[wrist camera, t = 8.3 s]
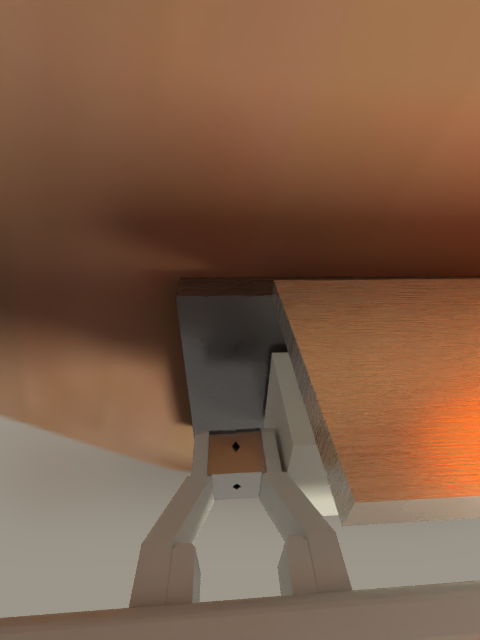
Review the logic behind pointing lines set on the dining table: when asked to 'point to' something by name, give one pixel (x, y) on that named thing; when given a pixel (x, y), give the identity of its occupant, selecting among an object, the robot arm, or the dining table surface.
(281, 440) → the white block
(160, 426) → the dining table surface
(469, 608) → the robot arm
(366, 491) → the bench
